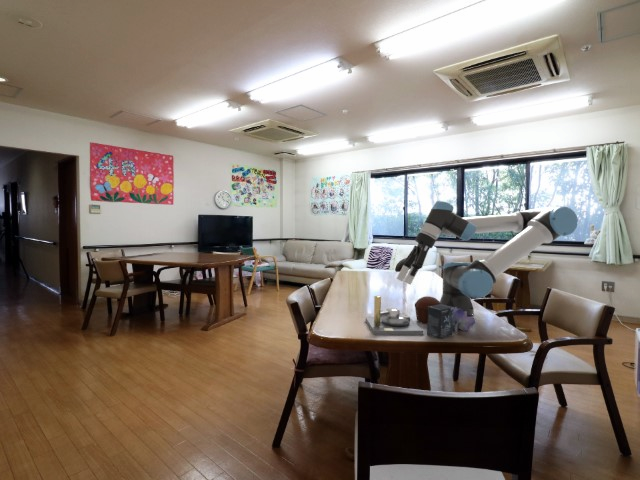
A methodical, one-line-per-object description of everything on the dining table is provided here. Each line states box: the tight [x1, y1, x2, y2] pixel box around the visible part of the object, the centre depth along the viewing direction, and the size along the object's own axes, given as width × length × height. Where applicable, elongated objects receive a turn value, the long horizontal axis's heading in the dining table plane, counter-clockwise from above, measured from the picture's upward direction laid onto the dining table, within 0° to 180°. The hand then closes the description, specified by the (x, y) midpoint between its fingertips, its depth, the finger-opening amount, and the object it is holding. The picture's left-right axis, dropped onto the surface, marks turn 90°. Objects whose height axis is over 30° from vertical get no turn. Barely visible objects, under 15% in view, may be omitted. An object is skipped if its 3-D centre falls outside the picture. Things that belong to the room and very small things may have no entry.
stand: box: [365, 316, 424, 336], centre depth 127 cm, size 18×17×2 cm
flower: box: [453, 307, 476, 334], centre depth 123 cm, size 9×9×10 cm
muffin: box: [414, 295, 441, 325], centre depth 135 cm, size 12×11×10 cm
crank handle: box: [373, 295, 411, 327], centre depth 126 cm, size 16×11×11 cm
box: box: [426, 304, 454, 340], centre depth 118 cm, size 8×6×11 cm
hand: (402, 281), depth 134 cm, fingers open, 13 cm apart
